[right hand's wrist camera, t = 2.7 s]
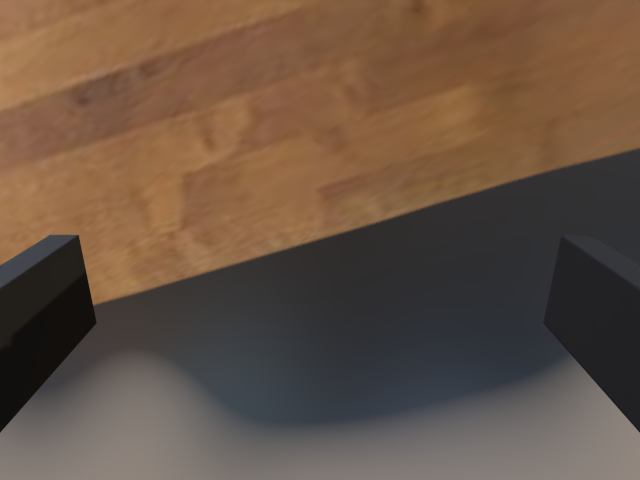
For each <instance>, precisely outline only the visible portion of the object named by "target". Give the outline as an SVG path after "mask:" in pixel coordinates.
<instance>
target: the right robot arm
mask: <svg viewBox="0 0 640 480" xmlns="http://www.w3.org/2000/svg"><path fill="white" fill-rule="evenodd" d="M95 324H96V318H95V313H94V308H93V303H92V299H91V294H90V289H89V284H88V279H87V274H86V269H85V264H84V260H83V255H82V250H81V245H80V240H79V235H49V236H48V237H46V238H45V239H43V240H41V241H40V242H38V243H36V244H35V245H33V246H32V247H30V248H28V249H27V250H25V251H23V252H22V253H20V254H19V255H17V256H15V257H14V258H12V259H10V260H9V261H7V262H5V263H4V264H2V265H1V266H0V432H1V431H2V430H3V429H4V428H5V426H6V425H7V424H8V423H9V422H10V421H11V420H12V419H13V417H14V416H15V415H16V414H17V413H18V412H19V411H20V409H21V408H22V407H23V406H24V405H25V404H26V403H27V401H28V400H29V399H30V398H31V397H32V396H33V395H34V394H35V392H36V391H37V390H38V389H39V388H40V387H41V386H42V384H43V383H44V382H45V381H46V380H47V379H48V378H49V376H50V375H51V374H52V373H53V372H54V371H55V370H56V369H57V367H58V366H59V365H60V364H61V363H62V362H63V361H64V359H65V358H66V357H67V356H68V355H69V354H70V353H71V351H72V350H73V349H74V348H75V347H76V346H77V345H78V344H79V342H80V341H81V340H82V339H83V338H84V337H85V335H86V334H87V333H88V332H89V331H90V330H91V329H92V328H93V327H94V325H95ZM544 324H545V325H546V326H547V328H548V329H549V330H550V331H551V332H552V333H553V334H554V336H555V337H556V338H557V339H558V340H559V341H560V342H561V344H562V345H563V346H564V347H565V348H566V349H567V350H568V351H569V353H570V354H571V355H572V356H573V357H574V358H575V359H576V360H577V362H578V363H579V364H580V365H581V366H582V367H583V368H584V370H585V371H586V372H587V373H588V374H589V375H590V376H591V378H592V379H593V380H594V381H595V382H596V383H597V384H598V386H599V387H600V388H601V389H602V390H603V391H604V392H605V393H606V395H607V396H608V397H609V398H610V399H611V400H612V401H613V403H614V404H615V405H616V406H617V407H618V408H619V409H620V411H621V412H622V413H623V414H624V415H625V416H626V417H627V418H628V420H629V421H630V422H631V423H632V424H633V425H634V426H635V428H636V429H637V430H638V431H639V432H640V266H639V265H638V264H636V263H634V262H633V261H631V260H630V259H628V258H626V257H625V256H623V255H621V254H620V253H618V252H617V251H615V250H613V249H612V248H610V247H608V246H607V245H605V244H604V243H602V242H600V241H599V240H597V239H595V238H594V237H592V236H591V235H562V236H561V240H560V245H559V250H558V255H557V260H556V264H555V269H554V274H553V279H552V284H551V289H550V294H549V299H548V303H547V308H546V313H545V318H544Z"/></svg>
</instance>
